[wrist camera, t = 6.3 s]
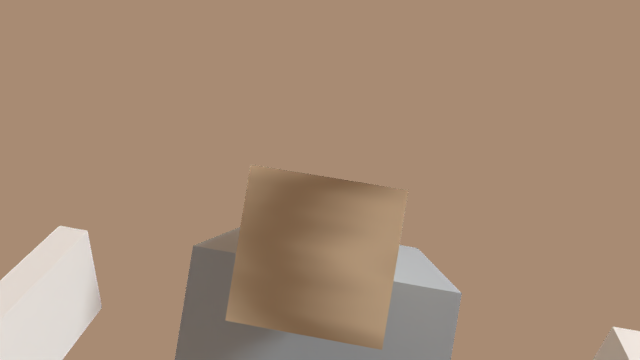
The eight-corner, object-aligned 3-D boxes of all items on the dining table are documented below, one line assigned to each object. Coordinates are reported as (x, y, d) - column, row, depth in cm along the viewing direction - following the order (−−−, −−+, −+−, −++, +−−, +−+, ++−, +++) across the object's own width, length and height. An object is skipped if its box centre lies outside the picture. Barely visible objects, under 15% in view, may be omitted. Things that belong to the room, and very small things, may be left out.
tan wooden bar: (225, 320, 12) (250, 164, 12) (309, 229, 35) (318, 176, 35) (382, 350, 12) (408, 190, 12) (363, 238, 35) (371, 185, 35)
